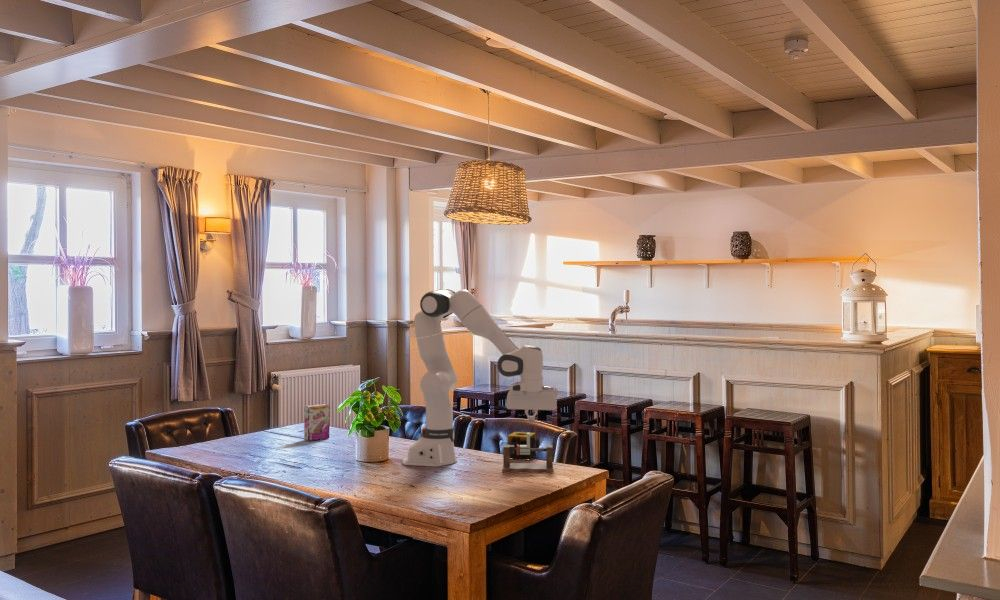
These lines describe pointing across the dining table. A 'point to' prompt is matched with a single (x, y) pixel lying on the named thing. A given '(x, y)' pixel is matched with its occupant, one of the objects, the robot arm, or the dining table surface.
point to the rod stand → (527, 466)
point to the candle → (521, 439)
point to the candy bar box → (316, 422)
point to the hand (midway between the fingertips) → (531, 420)
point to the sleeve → (526, 446)
